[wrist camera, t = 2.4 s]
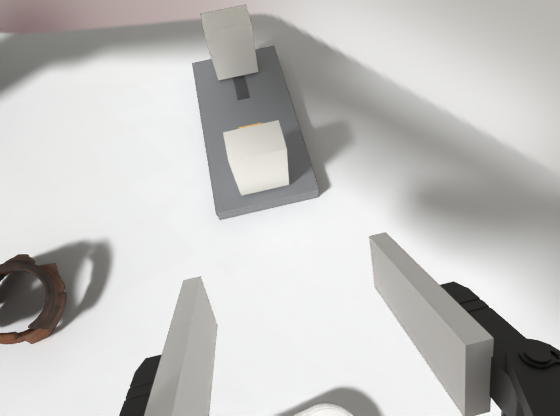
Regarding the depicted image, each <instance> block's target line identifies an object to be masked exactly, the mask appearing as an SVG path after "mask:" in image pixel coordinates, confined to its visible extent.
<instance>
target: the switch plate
mask: <svg viewBox="0 0 560 416" xmlns="http://www.w3.org/2000/svg"><path fill="white" fill-rule="evenodd" d="M255 52H256V59H257V66H258V72H256V73H251V74H247V75H242V76H237V77H233V78H228V79H223V80H219V81H218V78H217V75H216V71H215V68H214V65H213V61H212V59H210V60H205V61H200V62H196V63H192V65H193V72H194V78H195V84H196V91H197V97H198V103H199V109H200V116H201V122H202V128H203V135H204V141H205V147H206V153H207V160H208V166H209V172H210V179H211V185H212V191H213V197H214V204H215V210H216V214H217V216H218V217H219V219H220V220H222V219H226V218H230V217H235V216H239V215H243V214H248V213H252V212H256V211H261V210H265V209H269V208H274V207H278V206H282V205H286V204H291V203H295V202H299V201H304V200H308V199H312V198H317V197H318V194H319V188H318V185H317V181H316V178H315V175H314V172H313V169H312V166H311V162H310V159H309V156H308V153H307V150H306V146H305V143H304V140H303V137H302V134H301V130H300V127H299V124H298V121H297V118H296V115H295V111H294V108H293V105H292V102H291V99H290V95H289V92H288V89H287V86H286V83H285V79H284V76H283V73H282V70H281V67H280V64H279V60H278V57H277V54H276V51H275V48H274V46H271V47H267V48H262V49H257V50H255ZM277 120H279V123H280V127H281V130H282V134H283V137H284V141H285V144H286V148H287V159H288V175H289V185H286V186H282V187H277V188H273V189H269V190H264V191H260V192H256V193H251V194H247V195H243V196H241V194H240V191H239V188H238V186H237V183H236V181H235V178H234V175H233V173H232V170H231V167H230V165H229V162H228V157H227V151H226V146H225V141H224V136H223V132H227V131H231V130H236V129H240V128H245V127H249V126H254V125H258V124H263V123H267V122H272V121H277Z"/></svg>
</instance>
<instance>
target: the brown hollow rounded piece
mask: <svg viewBox="0 0 560 416" xmlns="http://www.w3.org/2000/svg"><path fill="white" fill-rule="evenodd" d="M13 271H25V272H29V273H32V274H34V275H35V276H37V277H38V278H39V279H40V280H41V281H42V283H43V284H44V286H45V290H46V302H45V305H44V308H43V310H42V312H41V313H40V315H39V316H38V317H37V319H36V320H35V321H33V322H32V323H31V324H30V325H29V326H28V328H30V329H28V330H26V331H23V332H20V333H17V332H10V333H0V344H14V343H20V342H23V341H27V342H29V343H30V344H34V343H36V342H39V341H41V340H42V339H44V338H46V337H47V336H49V335H50V334H51V333H52V331H51V330H53V329H54V328H55V327H56V326H57V324H58V322H59V320H60V318H61V315H62V313H63V310H64V307H65V302H66V297H67V295H66V293H65V292H63V290H64V289H65V285H64V282H63V280H62V279H61V277H60V276H59V273H58V270H57V266H56V264H55V263H53V264H45V265H40V266H36V265H35V261H34V259H33V258H31V257H29V255H27V254H19V255H16V256H15V257H14V258H11V259H9V260H8V261H6V262H5V263H3V264H1V265H0V281H1V280H2V279H3V278H4V277H5V276H7V275H8V274H10V273H11V272H13Z"/></svg>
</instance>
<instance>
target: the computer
mask: <svg viewBox="0 0 560 416" xmlns="http://www.w3.org/2000/svg"><path fill="white" fill-rule="evenodd" d="M293 416H353V415H352V414H351V413H350V412H349V411H347V410H346V409H344V408H343V407H341V406H338V405H335V404H330V403H321V404H317V405H314V406H312V407H310V408H308V409H305V410H303V411H301V412H299V413H297V414H295V415H293Z"/></svg>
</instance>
